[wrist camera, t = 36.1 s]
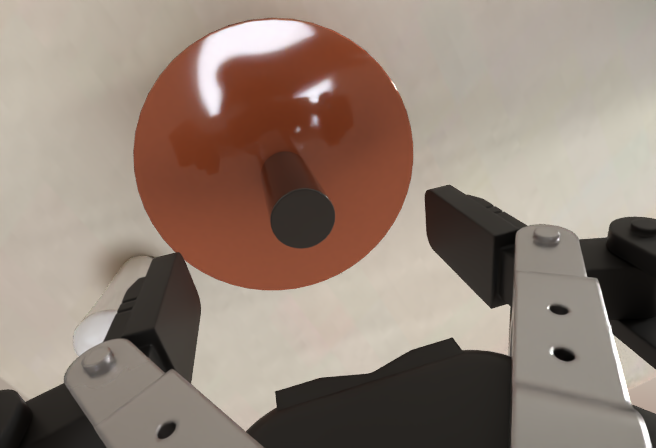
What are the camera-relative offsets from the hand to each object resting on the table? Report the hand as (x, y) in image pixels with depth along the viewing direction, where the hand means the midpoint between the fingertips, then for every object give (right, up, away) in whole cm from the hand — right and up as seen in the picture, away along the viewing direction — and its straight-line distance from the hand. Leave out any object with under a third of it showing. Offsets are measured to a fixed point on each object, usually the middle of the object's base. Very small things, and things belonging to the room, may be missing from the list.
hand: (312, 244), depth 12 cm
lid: (-2, +3, +7) cm, 8 cm away
